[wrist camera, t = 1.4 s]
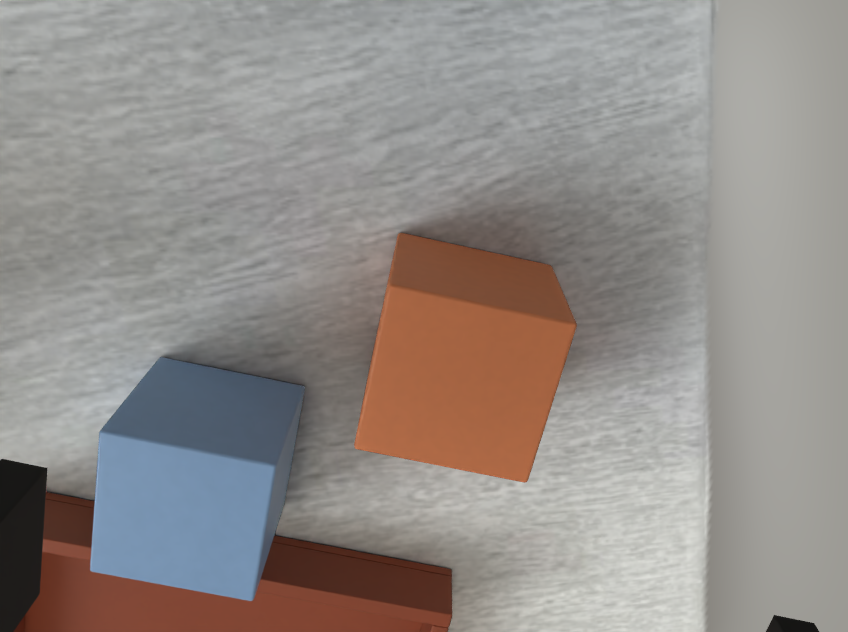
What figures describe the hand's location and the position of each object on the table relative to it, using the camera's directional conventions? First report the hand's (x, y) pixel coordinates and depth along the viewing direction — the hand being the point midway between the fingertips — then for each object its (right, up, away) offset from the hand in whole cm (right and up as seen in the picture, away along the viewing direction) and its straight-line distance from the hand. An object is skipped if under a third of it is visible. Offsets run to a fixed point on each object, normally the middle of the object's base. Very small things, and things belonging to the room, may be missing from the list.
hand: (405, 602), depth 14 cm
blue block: (-7, +1, +13) cm, 15 cm away
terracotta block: (+1, +5, +11) cm, 13 cm away
